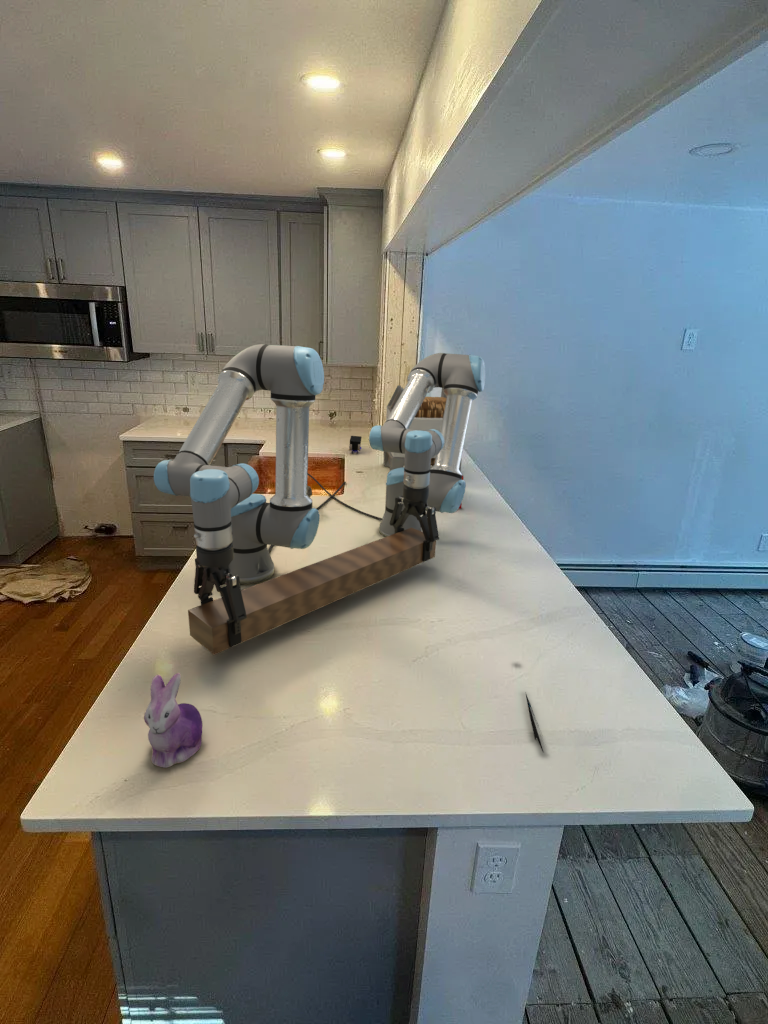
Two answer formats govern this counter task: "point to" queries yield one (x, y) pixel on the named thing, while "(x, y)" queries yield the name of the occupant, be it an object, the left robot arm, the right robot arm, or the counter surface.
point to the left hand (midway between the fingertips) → (221, 633)
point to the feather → (534, 723)
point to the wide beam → (308, 588)
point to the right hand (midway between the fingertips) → (412, 554)
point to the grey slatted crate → (418, 423)
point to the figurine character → (355, 444)
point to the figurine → (171, 724)
